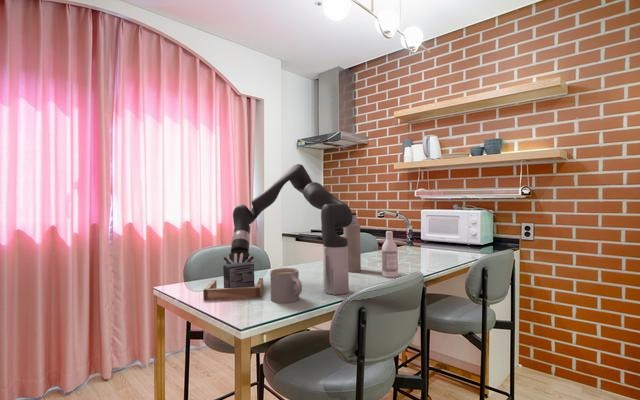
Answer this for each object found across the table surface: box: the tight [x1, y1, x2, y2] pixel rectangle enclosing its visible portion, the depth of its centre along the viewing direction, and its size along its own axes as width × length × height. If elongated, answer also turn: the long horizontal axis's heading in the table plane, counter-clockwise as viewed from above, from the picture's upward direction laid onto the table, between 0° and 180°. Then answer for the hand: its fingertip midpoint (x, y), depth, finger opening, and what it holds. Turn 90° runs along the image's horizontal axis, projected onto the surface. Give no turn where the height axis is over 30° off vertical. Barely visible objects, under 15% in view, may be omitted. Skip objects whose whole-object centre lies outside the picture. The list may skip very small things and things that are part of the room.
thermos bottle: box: [343, 212, 362, 273], centre depth 170 cm, size 8×8×28 cm
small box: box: [222, 261, 256, 288], centre depth 137 cm, size 11×6×10 cm, turn 125°
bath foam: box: [381, 230, 399, 278], centre depth 157 cm, size 7×7×20 cm
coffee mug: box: [269, 267, 303, 304], centre depth 123 cm, size 13×10×10 cm
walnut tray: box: [202, 277, 264, 301], centre depth 134 cm, size 16×20×4 cm
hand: (236, 277), depth 140 cm, fingers closed
